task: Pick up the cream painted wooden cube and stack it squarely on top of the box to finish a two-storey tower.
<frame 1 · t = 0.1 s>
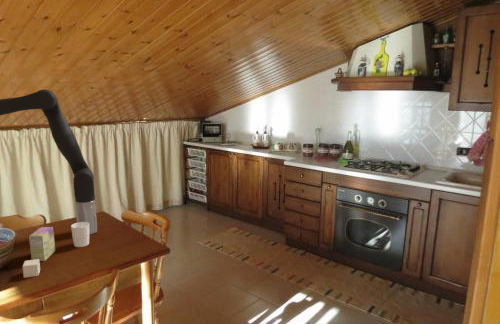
white cup: (81, 244, 174), on the table
cube: (32, 274, 146), on the table
box: (43, 256, 161), on the table
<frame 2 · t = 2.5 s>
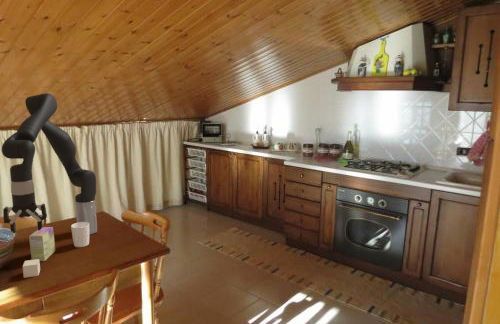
hand: (27, 231, 142), 18 cm above the table, fingers open, 8 cm apart
nothing on the table moved.
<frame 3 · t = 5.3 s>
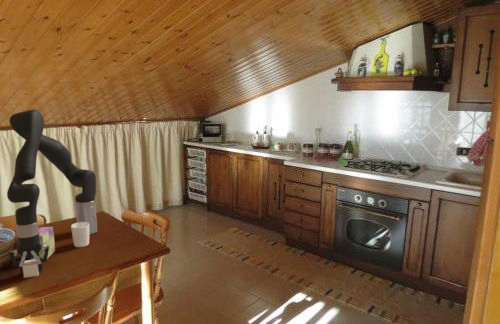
hand: (32, 272, 146), 0 cm above the table, fingers closed on cube, 5 cm apart
cube: (32, 273, 146), on the table, touching gripper
everything else where it was.
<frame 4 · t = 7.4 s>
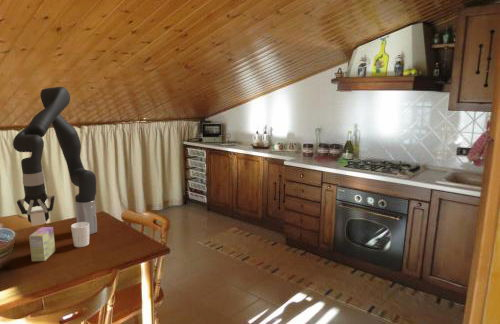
hand: (39, 221, 152), 18 cm above the table, fingers closed on cube, 5 cm apart
cube: (39, 222, 153), point 18 cm above the table, touching gripper
everything else where it was.
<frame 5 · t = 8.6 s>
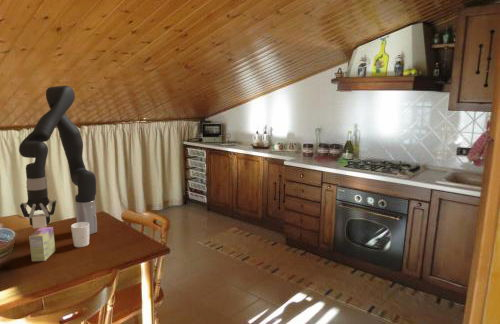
hand: (40, 224, 158), 15 cm above the table, fingers closed on cube, 5 cm apart
cube: (40, 225, 158), point 14 cm above the table, touching gripper
everything else where it was.
when the fingers open (13 cm above the table, at t = 9.7 s): cube drops 1 cm, resting on box.
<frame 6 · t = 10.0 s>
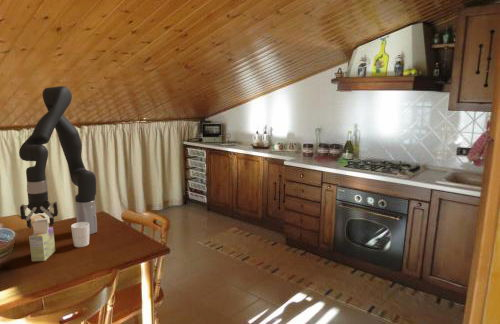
hand: (40, 226, 158), 14 cm above the table, fingers open, 7 cm apart
cube: (41, 231, 159), point 12 cm above the table, touching box
box: (43, 256, 161), on the table, touching cube
everything else where it was.
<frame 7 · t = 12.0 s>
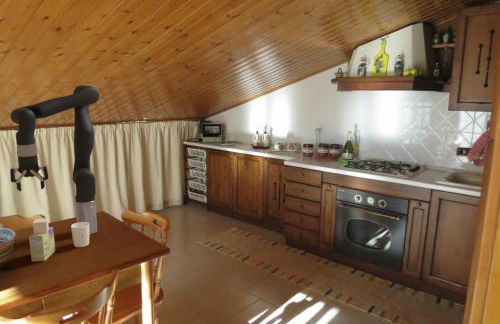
hand: (31, 189, 162), 29 cm above the table, fingers open, 8 cm apart
nothing on the table moved.
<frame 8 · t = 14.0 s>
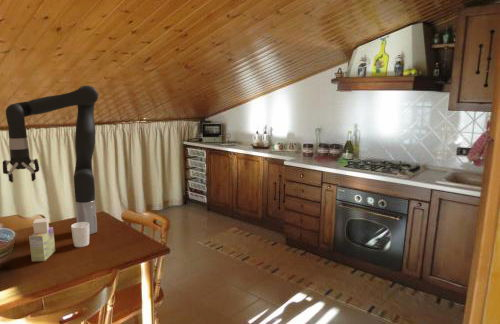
hand: (22, 181, 170), 30 cm above the table, fingers open, 8 cm apart
nothing on the table moved.
at the end: cube inside the target area on the box (0.1 cm from its centre), point 12.0 cm above the box's base; cube tilted 0°; the gripper is holding nothing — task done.
